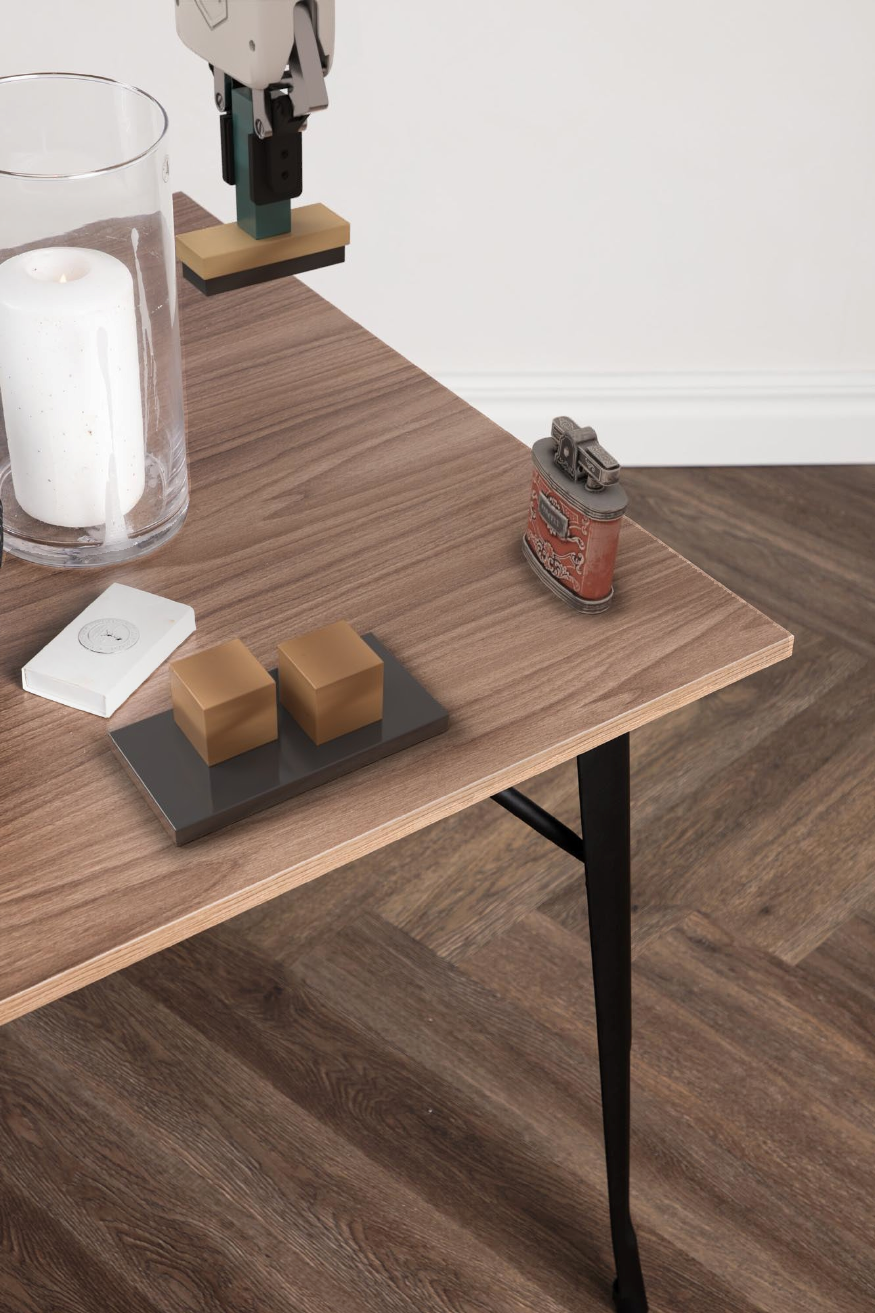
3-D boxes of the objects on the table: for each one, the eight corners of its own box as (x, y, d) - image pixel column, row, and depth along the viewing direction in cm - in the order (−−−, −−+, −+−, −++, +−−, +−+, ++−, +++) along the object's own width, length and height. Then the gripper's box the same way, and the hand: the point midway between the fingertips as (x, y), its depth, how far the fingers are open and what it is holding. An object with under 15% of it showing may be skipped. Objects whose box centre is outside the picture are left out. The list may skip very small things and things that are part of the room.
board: (177, 847, 69) (175, 831, 68) (109, 748, 74) (107, 732, 73) (449, 730, 76) (450, 713, 75) (370, 646, 81) (371, 630, 80)
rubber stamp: (205, 299, 83) (195, 117, 76) (177, 276, 85) (164, 96, 78) (350, 263, 87) (352, 87, 80) (320, 241, 89) (320, 68, 82)
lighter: (509, 545, 89) (522, 406, 82) (556, 532, 90) (572, 395, 84) (576, 619, 84) (596, 477, 77) (624, 605, 85) (648, 464, 78)
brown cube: (316, 746, 73) (315, 689, 70) (279, 701, 75) (276, 644, 73) (382, 719, 75) (384, 662, 72) (343, 675, 77) (343, 619, 75)
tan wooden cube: (208, 767, 71) (203, 709, 69) (173, 721, 74) (167, 663, 71) (278, 739, 73) (276, 681, 71) (242, 694, 76) (238, 637, 73)
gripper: (112, -196, 74) (141, 153, 86) (268, -126, 64) (276, 257, 76) (239, -205, 77) (250, 132, 89) (405, -140, 68) (392, 228, 80)
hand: (262, 186), depth 83 cm, fingers closed on rubber stamp, 2 cm apart
